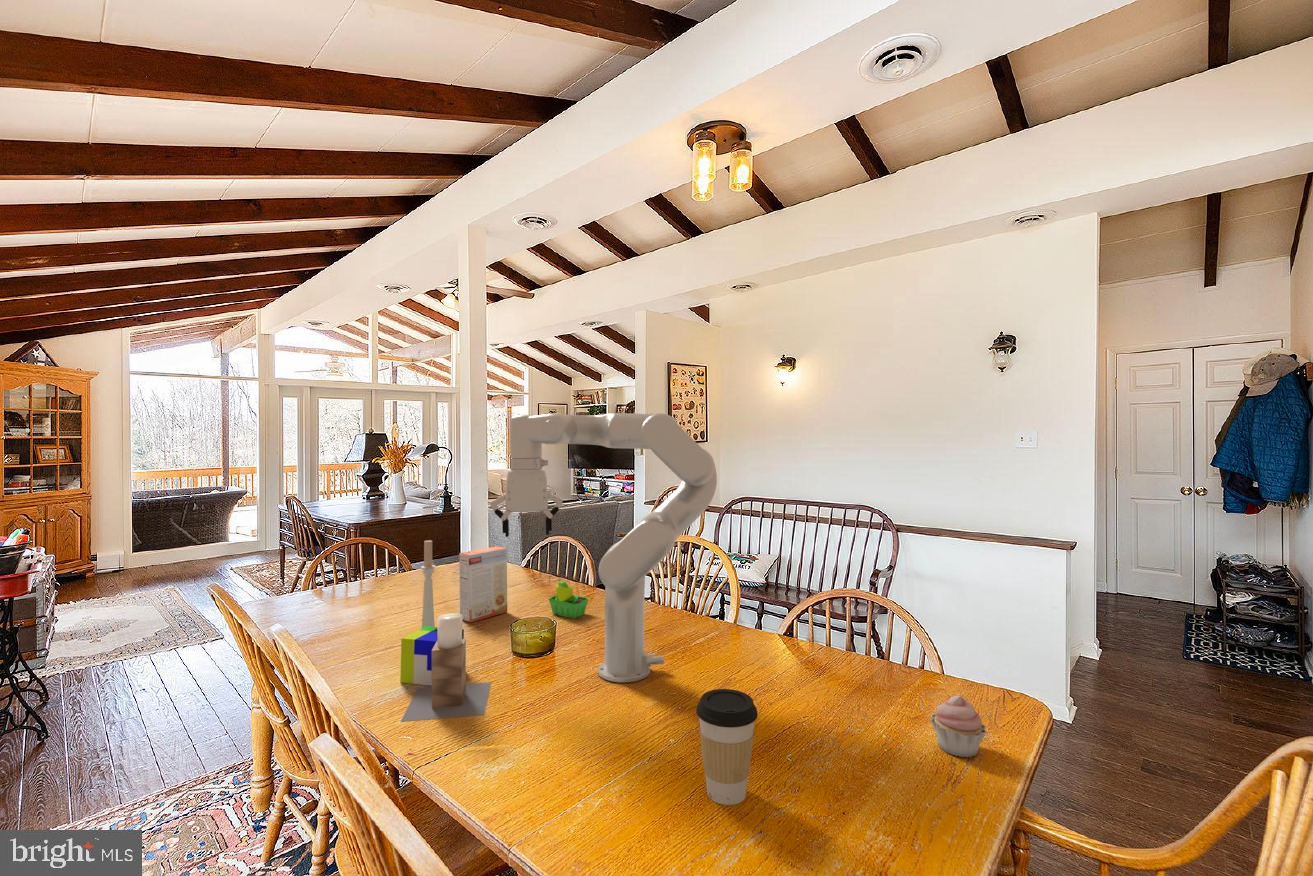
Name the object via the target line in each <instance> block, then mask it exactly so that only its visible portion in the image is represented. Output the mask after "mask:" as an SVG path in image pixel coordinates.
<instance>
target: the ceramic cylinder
mask: <svg viewBox="0 0 1313 876" xmlns="http://www.w3.org/2000/svg"><path fill="white" fill-rule="evenodd" d="M437 627H438V648H441V649H452V648H456V647H459V646H461V645H462V629H463V620H462V615H461V614H460V613H457V612H454V613H443V614H441V615H439V616H438V617H437Z"/></svg>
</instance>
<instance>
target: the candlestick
mask: <svg viewBox="0 0 1313 876" xmlns="http://www.w3.org/2000/svg"><path fill="white" fill-rule="evenodd" d="M435 567H436V565H434V564H433V540H430V539H427V540H424V542H423V565H421V566H420V568H421V569H422V574H423V576H424V580H423V595H422V596H423V597H422V598H423V599H422V612H421V613H422V614H421V615H422V617H421V629H422V628H425V627H427V626H429V627H436V626H435V611H434V610H435V609H434V608H435V607H434V606H435V605H434V592H433V591H434V590H433V578H432V576H433V574H434V568H435Z"/></svg>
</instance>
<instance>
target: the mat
mask: <svg viewBox="0 0 1313 876" xmlns="http://www.w3.org/2000/svg"><path fill="white" fill-rule="evenodd" d="M491 686H492V681H485V682H474V683H473V682H472V683H470V682H469V683H466V694H465V697H464V700H463V703H462V706H451V707H438V708H432V686H430V685H427V686H418V687H417V688H416V690H415V692H414V694H413V696H412V698H411V700H410V702H409V704H408V707H406V708H407V709H406V710H405V711H404V712H405V713H404V714H403V716H402V718H401V720H400V722H401V723H403V722H404V723H405V722H415V721H416V722H417V721H429V720H430V721H431V720H441V719H442V720H443V719H450V718H451V719H452V718H455V719H456V718H464V717H465V718H466V717H475V716H476V717H477V716H484V715H485V713H486V708H487V703H488V700H489V695H490V690H491Z"/></svg>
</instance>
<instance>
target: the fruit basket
mask: <svg viewBox="0 0 1313 876" xmlns="http://www.w3.org/2000/svg"><path fill="white" fill-rule="evenodd" d="M573 593H574V588H573V587H572V586H570V585H569V584H568V583H567V582H566V581H564V580H562V581H561V580H560V582H558V583H557V584H556V587H555V595H553V596H550V597H548V601H549V603H550V606H551V607H550V608H551V612H552V614H554V615H558V616H560V617H561V616H562V617H566V618H570V619H576V618H579V617H581V616H584V615H585V612H586V609H587V605H588V602H589V598H588V597H585V596H580V595H577V594H573Z"/></svg>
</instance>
